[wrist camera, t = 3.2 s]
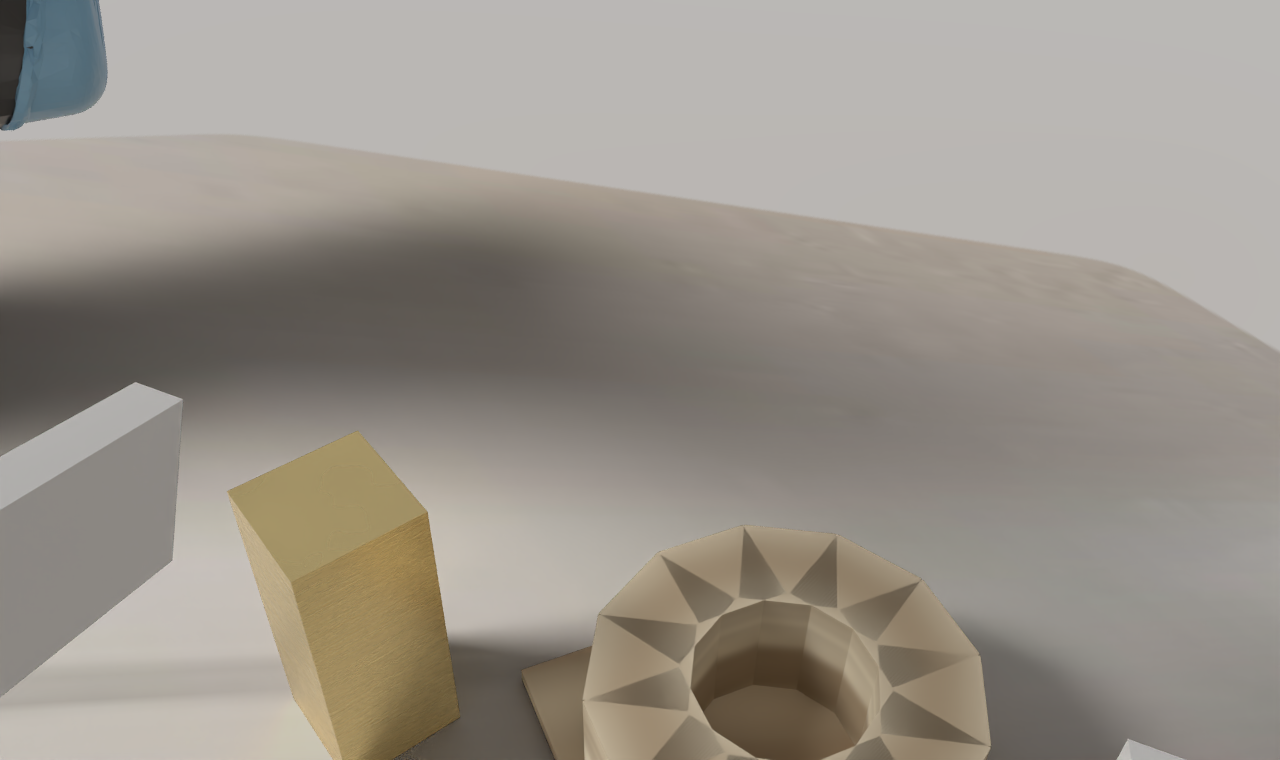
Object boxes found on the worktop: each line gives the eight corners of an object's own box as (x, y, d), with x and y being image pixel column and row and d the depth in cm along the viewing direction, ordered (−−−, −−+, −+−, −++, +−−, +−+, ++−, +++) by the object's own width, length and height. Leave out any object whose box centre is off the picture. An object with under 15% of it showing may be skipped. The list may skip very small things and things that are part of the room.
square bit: (293, 697, 39) (226, 491, 32) (399, 637, 41) (357, 430, 34) (350, 785, 36) (290, 582, 30) (459, 717, 38) (427, 512, 32)
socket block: (522, 678, 39) (513, 584, 36) (840, 569, 43) (858, 475, 40) (672, 1047, 31) (679, 969, 27) (1052, 871, 34) (1098, 783, 31)
